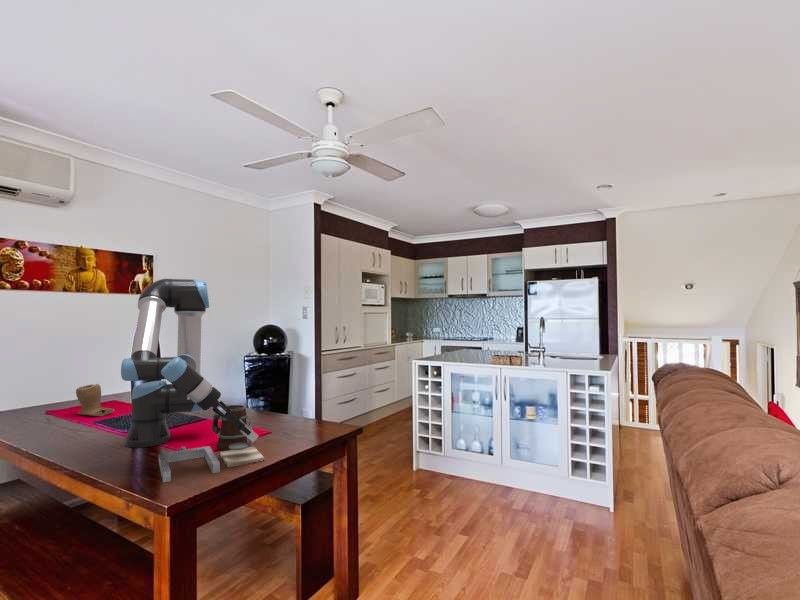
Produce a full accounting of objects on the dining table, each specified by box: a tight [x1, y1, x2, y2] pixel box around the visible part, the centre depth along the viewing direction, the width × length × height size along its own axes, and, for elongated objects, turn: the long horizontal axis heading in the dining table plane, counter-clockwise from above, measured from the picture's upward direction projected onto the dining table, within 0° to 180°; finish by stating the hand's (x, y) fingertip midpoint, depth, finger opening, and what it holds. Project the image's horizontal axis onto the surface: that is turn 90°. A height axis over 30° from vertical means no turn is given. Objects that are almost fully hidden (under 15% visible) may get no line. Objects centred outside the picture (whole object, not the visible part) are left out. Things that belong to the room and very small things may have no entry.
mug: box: [211, 404, 249, 452], centre depth 164 cm, size 16×12×15 cm
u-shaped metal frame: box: [158, 445, 221, 484], centre depth 144 cm, size 26×16×3 cm, turn 33°
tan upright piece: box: [75, 383, 115, 417], centre depth 208 cm, size 15×12×15 cm
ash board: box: [219, 446, 265, 468], centre depth 150 cm, size 14×12×1 cm
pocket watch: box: [228, 418, 253, 450], centre depth 149 cm, size 8×8×10 cm
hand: (252, 436), depth 151 cm, fingers closed on pocket watch, 7 cm apart
